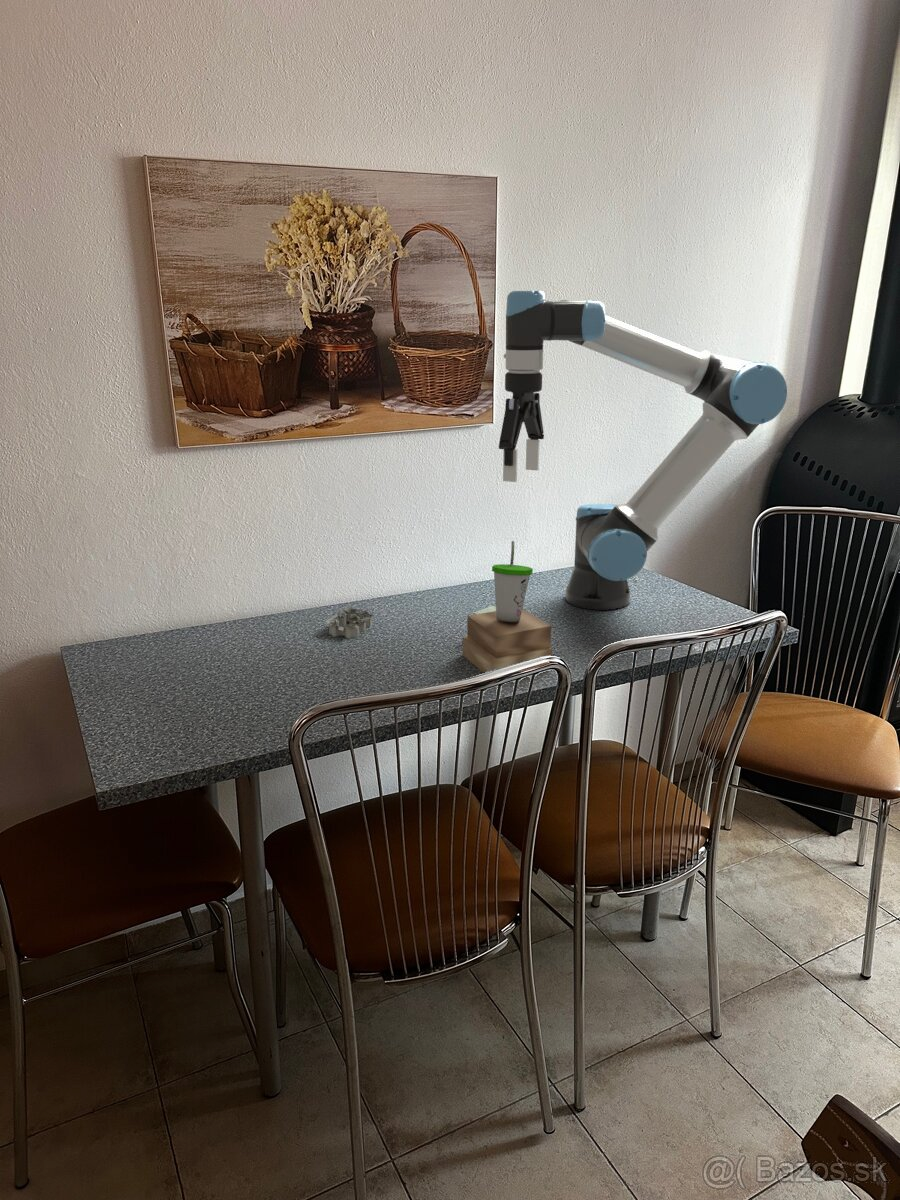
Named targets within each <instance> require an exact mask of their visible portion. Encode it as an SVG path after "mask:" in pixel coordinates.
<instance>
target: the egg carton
mask: <svg viewBox="0 0 900 1200" xmlns="http://www.w3.org/2000/svg"><path fill="white" fill-rule="evenodd" d="M374 614H375V613H374V612H373V611H372V612H371V613H370V612H369V611H368V610H367V609H364V610H363V609H361V608H357V607H354V608H353V607H351V606H349V605H346V606H345V608H344V609H342V611H338V612H336V614H335V615H333V616H332V617H330V618H327V620H326V626H327V627H328V629H329V631H328V633H329V634H330V635H331V637H339V636H344V637H345V639H352V638H358V637H359V636H360V633H362V632H363V633H365V631H366V628H369V627H370V628H371V627H372V626H373V622H372V621H373V618H374ZM347 622H348V623H349V624H347Z"/></svg>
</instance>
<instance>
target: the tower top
mask: <svg viewBox="0 0 900 1200" xmlns="http://www.w3.org/2000/svg"><path fill="white" fill-rule="evenodd" d="M466 621H467V625H466V626H467V631H466V636H467V637H468V638H469V639H471V640H472V641H473V642H475V643H476V644H478V645H479V646H480V647H482V648H483V649H484V650H486V651H487V652H488V653H490V654H491V655H492V656H494V657H495V658H500V657H505V656H510V655H515V654H520V653H525V652H530V651H535V650H540V649H545V648H550V647H551V641H552V640H551V639H552V637H551V636H552V625H550V624H549V623H548V622H546V621H544V620H543V619H540V618H539V617H538V616H535V615H534V614H533V613H530V612H529V611H528V610H526V609H524V608H523V609H522V613H521V618H520V621H519V622H505V621H500V620H498V619H497V618H496V611H493V612H487V613H482V614H476V615H473V614H470V615H467V619H466Z"/></svg>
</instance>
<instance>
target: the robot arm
mask: <svg viewBox="0 0 900 1200" xmlns="http://www.w3.org/2000/svg"><path fill="white" fill-rule="evenodd" d="M545 295H546V294H545V292H544V291H542V290H513V291H510V292H509V293H508V295H507V297H506V300H507V301H506V312H505V353H504V354H503V359H505V369H506V370H507V372H506V373H505V374H504V375H505V376H504V390H505V392H509V393H511V394H512V398H506V399H505V409H504V415H503V422H502V426H501V427H502V428H501V431H500V437H499V443H498V449H499V450H503V459H502V460H503V461H502V463H503V464H502V468H503V469H502V470H503V472H502V481H503V482H511V483H512V482H513V483H516V482H517V481H518V449H517V448H516V447H517V443H518V441H519V437H520V433H521V430H522V426H523V424H524V427H525V431H526V435H527V439H526V442H525V443H526V446H525V471H539V470H540V440H544V439H545V434H544V432H545V431H544V426H543V419H542V417H543V416H542V411H541V404H540V403H541V401H540V400H541V399H540V396H541V395H540V393H539V392H541V391H542V389H543V373H542V372H540V371H541V370H543V369H544V342H545V341H568V342H570V343H574V344H576V345H579V346H581V347H585V348H586V349H589V350H591V351H594V352H597V353H600V354H601V355H604V356H607V357H608V358H611V359H614V360H617V361H619V362H621V363H623V364H626V365H629V366H630V367H634V368H636V369H639V370H642V371H644V372H646V373H648V374H652V375H654V376H657V377H659V378H661V379H664V380H667V381H669V382H671V383H674V384H677V385H680V386H681V387H683V388H684V390H685V392H686V393H687V394H689V395H692V396H693V397H695V398H698V399H700V400H702V401H703V402H702V415H701V416H700V417H699V418H698V420H697V421H696V422H695V423H694V424H693V425H692V427H691V428H690V429H689V430H688V431H687V432H686V434H685V435H684V436H683V437H682V438H681V440H679V442H678V443H677V444H676V445H675V447H674V448H672V450H671V451H670V452H669V453H668V454H667V456H666V457H665V458H664V459H663V460H662V461H661V463H660V464H659V465H658V466H657V467H656V468H655V470H654V471H653V472H652V473H651V475H650V476H648V478H647V479H645V481H644V483H642V485H641V486H640V487H639V488H638V490H637V491H636V492H635V493H634V494H633V495H632V496H631V498H630V499H629V500H628V502H626V503H622V504H611V503H592V504H591V503H590V504H589V503H588V504H583V505H580V506H579V507H578V508H577V510H576V516H575V521H576V522H575V543H574V545H575V547H574V568H573V570H572V573H571V576H570V578H569V581H568V584H567V586H566V589H565V600H566V602H568V604H571V605H572V606H575V607H577V608H580V609H581V608H583V609H587V610H594V611H595V610H596V611H599V610H600V611H605V610H607V611H609V609H611V610H617V609H616V608H618V609H621V608H624V607H627V606H628V605H629V604H630V602H631V590H630V587H629V583H628V580H629V579H631V578H634V577H635V576H637V575H638V574H639V572H641V570H643V568H644V567H645V565H646V562H647V557H648V552H649V550H650V549H651V548H652V547H653V546H654V545H655V544H656V542H657V541H658V540H659V539H658V537H659V536H658V529H659V528H660V527H661V526H662V525H663V523H664V522H665V521H666V520H667V519H669V516H671V514H672V513H673V512H674V511H675V510H676V509H677V508H678V506H679V505H680V504H681V503H682V502H683V501H684V499H685V498H686V497H688V495H689V493H691V491H693V489H694V488H695V487H696V486H697V484H698V483H699V482H701V480H702V479H703V478H704V477H705V476H706V474H707V473H708V472H710V471H709V470H711V469H712V467H714V465H715V464H716V463H717V462H718V461H719V459H720V458H721V457H722V456H723V455H724V454H725V453H726V451H728V449H729V448H730V447H731V446H732V445H733V443H735V441H738V440H746V439H747V438H748V437H749V436H750V435H751V434H752V433H753V432H754V431H755V430H756V429H757V428H758V427H759V426H760V425H764V424H765V423H768V422H770V421H772V420H774V419H775V418H776V417H777V416H778V415H780V413H781V411H782V410H783V408H784V407H785V404H786V402H787V398H788V385H787V382H786V380H785V379H786V378H785V377H784V376H783V374H782V373H781V372H780V371H779V369H777V368H776V367H775V366H772V365H770V364H768V363H767V362H764V361H759V360H756V361H752V360H748V359H743V358H737V357H736V358H735V357H729V356H724V355H719V354H716V353H713V352H712V351H711V352H710V351H708V350H704V351H701V352H698V351H695V350H693V349H691V348H688V347H686V346H682V345H680V344H677V343H676V342H673V341H670V340H668V339H666V338H662V337H660V336H657V335H656V334H653V333H650V332H647V331H645V330H642V329H639V328H637V327H635V326H633V325H629V324H627V323H625V322H622V321H620V320H617V319H615V318H612V317H610V316H608V315H606V308H605V304H604V303H603V302H602V301H599V300H597V301H595V300H588V299H587V300H567V299H564V300H562V299H561V300H557V301H552V300H547V299H546V297H545ZM623 606H624V607H623Z"/></svg>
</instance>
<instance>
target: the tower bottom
mask: <svg viewBox="0 0 900 1200" xmlns="http://www.w3.org/2000/svg"><path fill="white" fill-rule="evenodd" d="M546 655H552V656H553V648H552V647H551V646H550V648H545V649H540V650H535V651H530V652H525V653H520V654H515V655H510V656H505V657H500V658H495V657H494V656H492V655H491V654H490V653H488V652H487V651H486V650H484V649H483V648H482V647H480V646H479V645H478V644H476V643H475V642H473V641H472V640H471V639H469V638H468V637H467V635H466V636H462V656H463V657H464V658H465V659H466V660H468V661H469V662H470V663H472V664H473V665H474V666H475V667H477V668H478V669H479V670H480V671H481V672H483V673H484V672H486V671H490V670H494V669H497V668H501V667H504V666H508V665H512V664H516V663H520V662H523V661H527V660H530V659H534V658H537V657H540V656H546Z"/></svg>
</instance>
